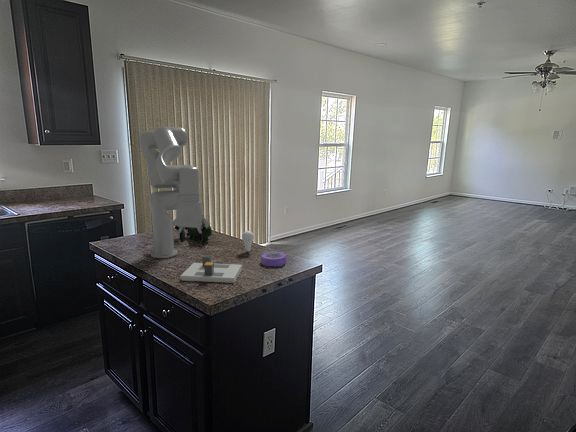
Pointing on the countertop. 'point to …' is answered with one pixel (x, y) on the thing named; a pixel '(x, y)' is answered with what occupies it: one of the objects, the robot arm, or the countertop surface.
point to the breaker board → (220, 273)
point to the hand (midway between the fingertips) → (191, 241)
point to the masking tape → (273, 259)
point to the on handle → (206, 259)
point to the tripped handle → (209, 268)
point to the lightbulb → (247, 239)
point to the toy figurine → (194, 232)
